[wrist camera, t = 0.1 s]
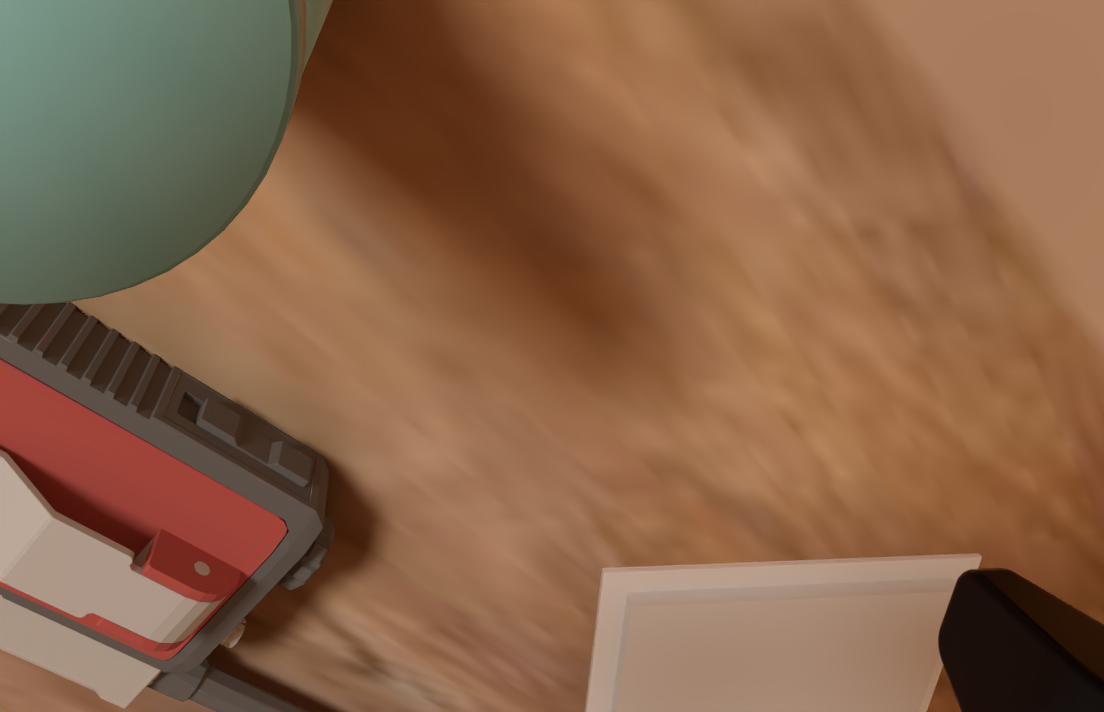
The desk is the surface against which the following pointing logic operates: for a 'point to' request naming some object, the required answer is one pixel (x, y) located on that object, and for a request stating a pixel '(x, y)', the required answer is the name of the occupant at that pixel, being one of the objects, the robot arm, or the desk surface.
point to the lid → (772, 635)
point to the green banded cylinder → (136, 132)
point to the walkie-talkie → (140, 514)
